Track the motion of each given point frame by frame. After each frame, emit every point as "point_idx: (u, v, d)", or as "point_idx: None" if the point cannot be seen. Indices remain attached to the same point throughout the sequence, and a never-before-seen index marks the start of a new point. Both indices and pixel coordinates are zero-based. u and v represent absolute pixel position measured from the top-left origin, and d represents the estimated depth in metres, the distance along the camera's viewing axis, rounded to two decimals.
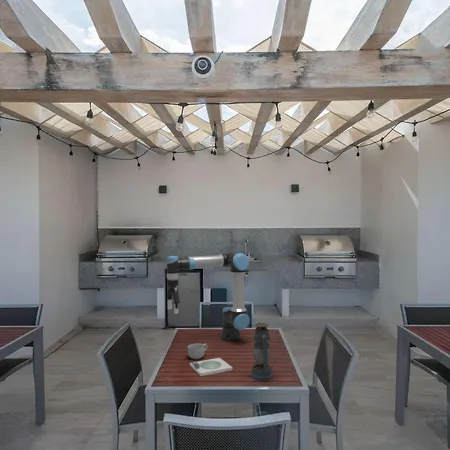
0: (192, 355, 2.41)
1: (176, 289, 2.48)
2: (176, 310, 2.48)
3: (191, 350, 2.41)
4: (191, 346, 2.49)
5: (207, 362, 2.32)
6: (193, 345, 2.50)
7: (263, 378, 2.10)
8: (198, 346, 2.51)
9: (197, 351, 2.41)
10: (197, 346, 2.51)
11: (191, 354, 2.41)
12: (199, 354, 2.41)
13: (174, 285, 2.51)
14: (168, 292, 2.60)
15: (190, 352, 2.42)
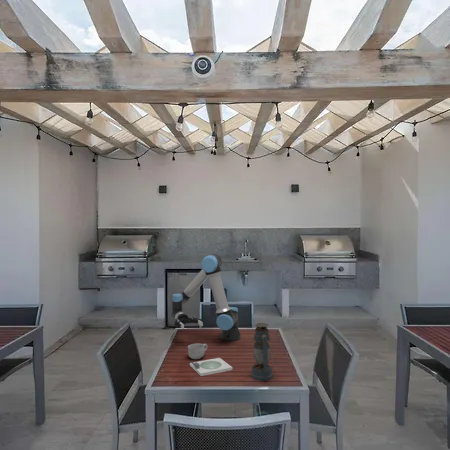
0: (192, 355, 2.41)
1: (175, 320, 2.67)
2: (181, 325, 2.54)
3: (191, 350, 2.41)
4: (191, 346, 2.49)
5: (207, 362, 2.32)
6: (193, 345, 2.50)
7: (263, 378, 2.10)
8: (198, 346, 2.51)
9: (197, 351, 2.41)
10: (197, 346, 2.51)
11: (191, 354, 2.41)
12: (199, 354, 2.41)
13: None
14: None
15: (190, 352, 2.42)
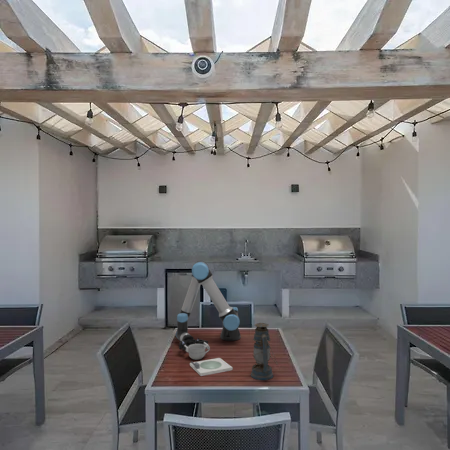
0: (190, 355, 2.41)
1: (180, 342, 2.57)
2: (186, 349, 2.44)
3: (190, 350, 2.41)
4: (194, 346, 2.49)
5: (207, 362, 2.32)
6: (196, 345, 2.50)
7: (263, 378, 2.10)
8: (201, 347, 2.49)
9: (195, 352, 2.39)
10: (200, 346, 2.49)
11: (190, 354, 2.41)
12: (197, 355, 2.39)
13: (183, 341, 2.60)
14: None
15: (189, 351, 2.42)
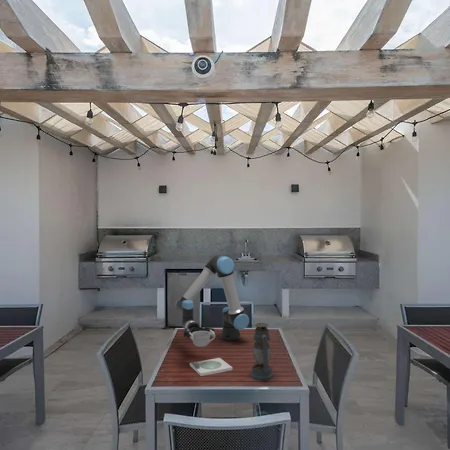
0: (193, 341, 2.30)
1: (185, 330, 2.43)
2: (191, 336, 2.30)
3: None
4: (200, 333, 2.37)
5: (207, 362, 2.32)
6: (203, 332, 2.37)
7: (263, 378, 2.10)
8: (207, 334, 2.35)
9: (197, 338, 2.28)
10: (206, 334, 2.36)
11: None
12: (199, 341, 2.27)
13: (188, 329, 2.46)
14: None
15: None
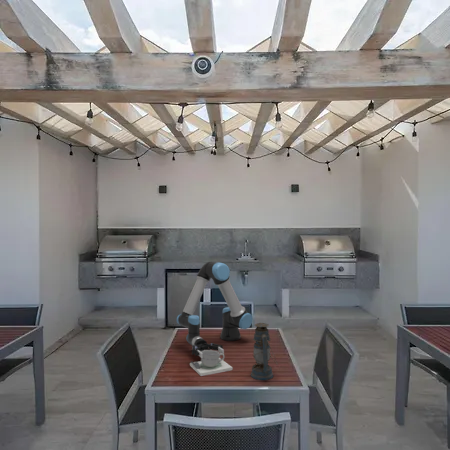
0: (202, 360, 2.24)
1: (192, 347, 2.37)
2: (200, 354, 2.24)
3: None
4: (209, 352, 2.31)
5: None
6: (212, 352, 2.31)
7: (263, 378, 2.10)
8: None
9: (206, 357, 2.22)
10: (215, 354, 2.30)
11: (201, 359, 2.24)
12: (208, 361, 2.21)
13: (196, 346, 2.40)
14: None
15: None
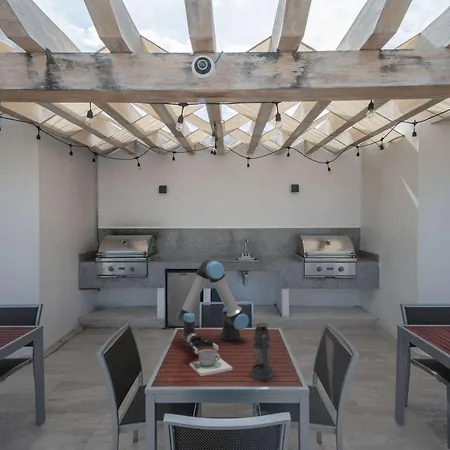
0: None
1: (188, 344, 2.44)
2: (195, 350, 2.31)
3: None
4: (211, 351, 2.33)
5: None
6: (213, 351, 2.32)
7: (263, 378, 2.10)
8: None
9: (199, 356, 2.26)
10: None
11: None
12: (201, 360, 2.25)
13: (191, 342, 2.47)
14: None
15: None
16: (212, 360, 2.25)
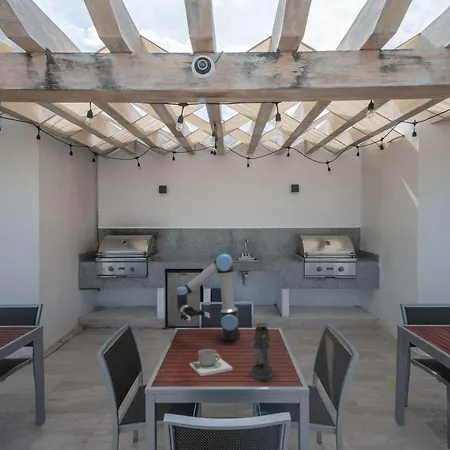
0: None
1: (181, 313, 2.59)
2: (188, 318, 2.47)
3: None
4: (211, 351, 2.33)
5: None
6: (213, 351, 2.32)
7: (263, 378, 2.10)
8: None
9: (199, 356, 2.26)
10: None
11: None
12: (201, 360, 2.25)
13: (184, 313, 2.63)
14: None
15: None
16: (212, 360, 2.25)
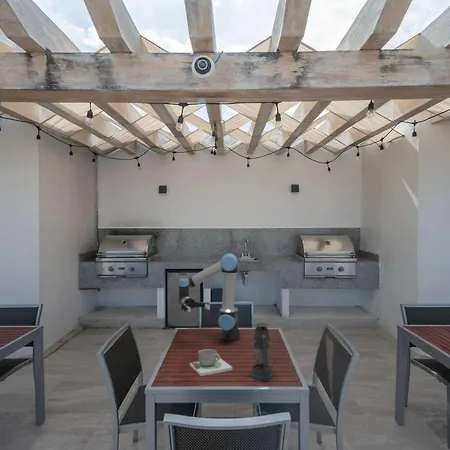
0: None
1: (182, 304, 2.63)
2: (188, 309, 2.51)
3: None
4: (211, 351, 2.33)
5: None
6: (213, 351, 2.32)
7: (263, 378, 2.10)
8: None
9: (199, 356, 2.26)
10: None
11: None
12: (201, 360, 2.25)
13: (185, 304, 2.66)
14: None
15: None
16: (212, 360, 2.25)
